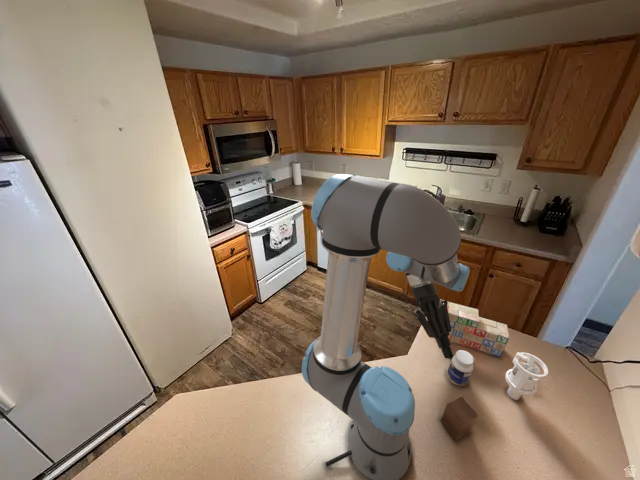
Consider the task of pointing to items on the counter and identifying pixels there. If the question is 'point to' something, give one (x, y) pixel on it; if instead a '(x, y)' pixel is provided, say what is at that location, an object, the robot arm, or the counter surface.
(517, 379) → the strainer
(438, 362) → the counter surface
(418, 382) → the counter surface
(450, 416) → the walnut block
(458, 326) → the stack of blocks
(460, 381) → the pill bottle
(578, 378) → the counter surface
